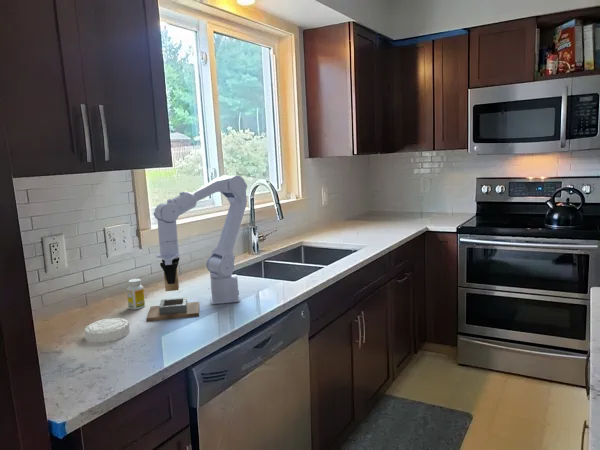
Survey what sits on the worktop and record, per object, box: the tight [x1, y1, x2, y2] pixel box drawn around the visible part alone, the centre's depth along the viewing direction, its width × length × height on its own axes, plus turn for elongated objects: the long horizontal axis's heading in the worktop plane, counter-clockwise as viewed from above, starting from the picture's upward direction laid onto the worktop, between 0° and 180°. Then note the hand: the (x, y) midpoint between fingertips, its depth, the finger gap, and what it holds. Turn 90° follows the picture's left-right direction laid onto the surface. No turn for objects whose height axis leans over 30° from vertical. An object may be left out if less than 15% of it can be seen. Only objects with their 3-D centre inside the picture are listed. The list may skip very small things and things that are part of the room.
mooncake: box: [83, 317, 131, 344], centre depth 135 cm, size 12×12×4 cm
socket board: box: [146, 297, 200, 322], centre depth 152 cm, size 16×12×4 cm
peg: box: [163, 268, 180, 292], centre depth 150 cm, size 4×4×8 cm
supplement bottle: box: [126, 278, 146, 310], centre depth 158 cm, size 5×5×10 cm
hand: (171, 281), depth 150 cm, fingers closed on peg, 4 cm apart
